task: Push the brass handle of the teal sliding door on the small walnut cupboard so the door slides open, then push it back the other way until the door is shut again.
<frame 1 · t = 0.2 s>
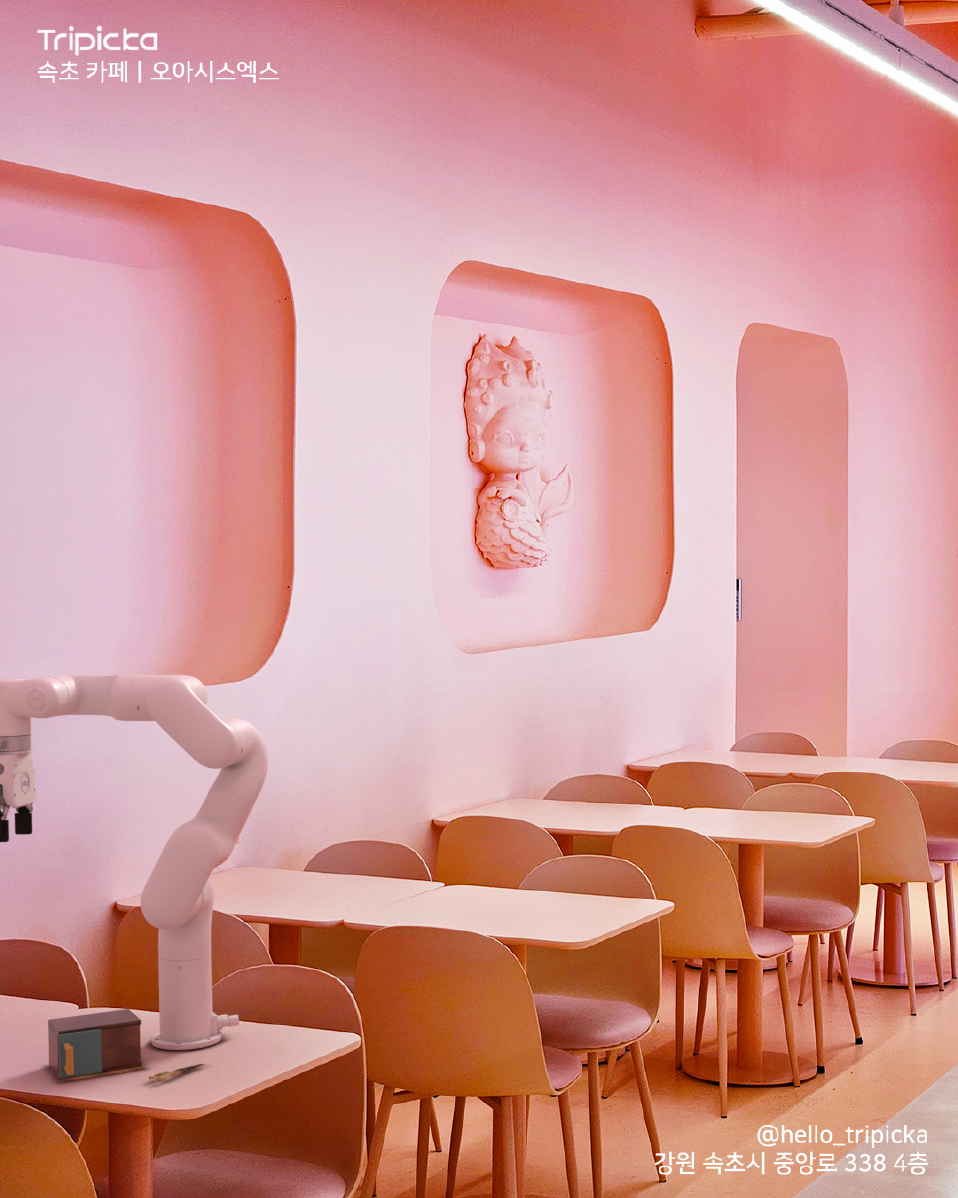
hand: (12, 838, 283), 37 cm above the table, tool pointing down, fingers open, 9 cm apart
tan slender tapered piece: (179, 1077, 257), on the table
door: (82, 1056, 256), point 4 cm above the table, slide at 0.0 cm
cupboard: (95, 1066, 264), on the table
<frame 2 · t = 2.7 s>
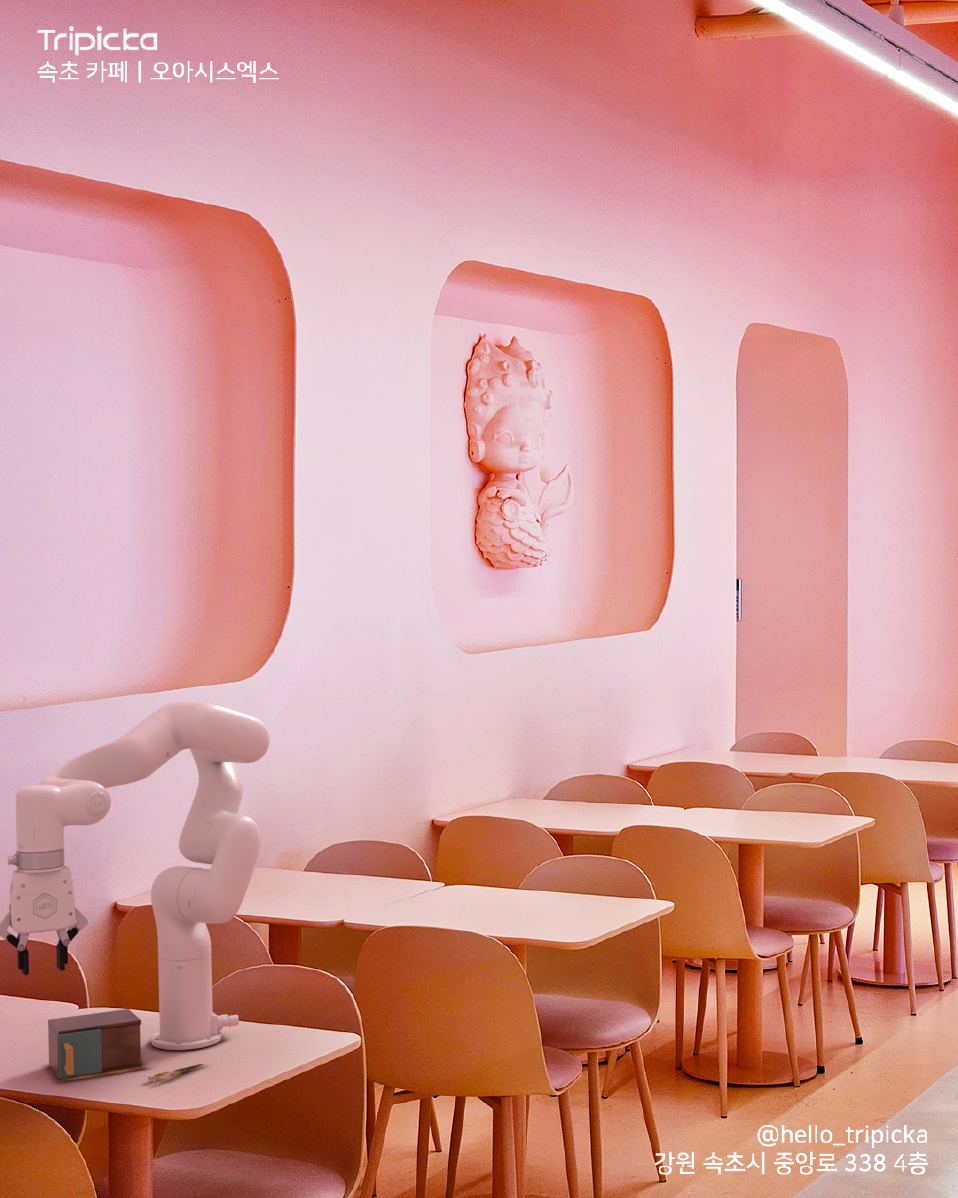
hand: (43, 970, 252), 19 cm above the table, tool pointing down, fingers open, 5 cm apart
nothing on the table moved.
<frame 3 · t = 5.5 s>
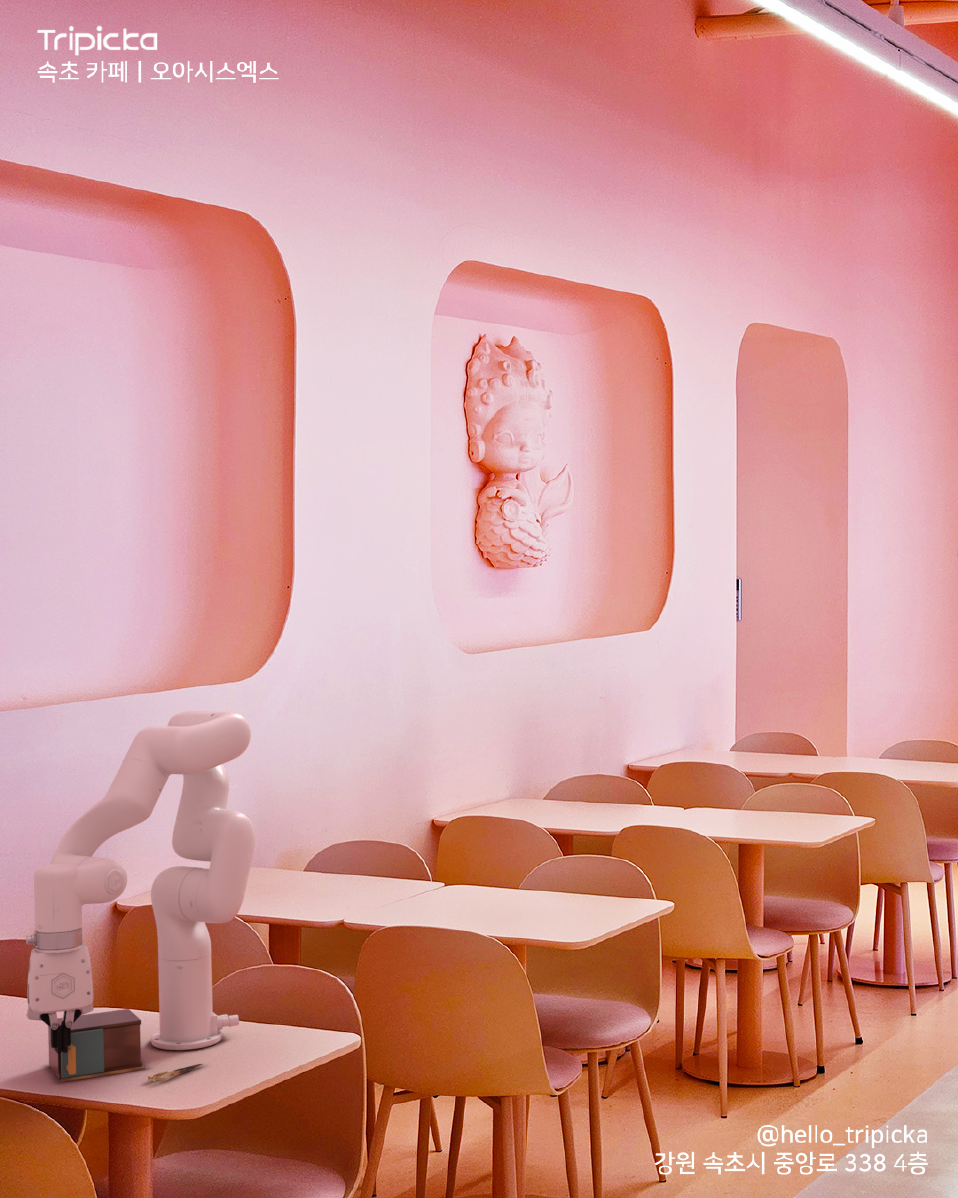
hand: (61, 1051, 253), 6 cm above the table, tool pointing down, fingers closed
door: (84, 1056, 256), point 4 cm above the table, slide at 0.4 cm, touching gripper
everything else where it was.
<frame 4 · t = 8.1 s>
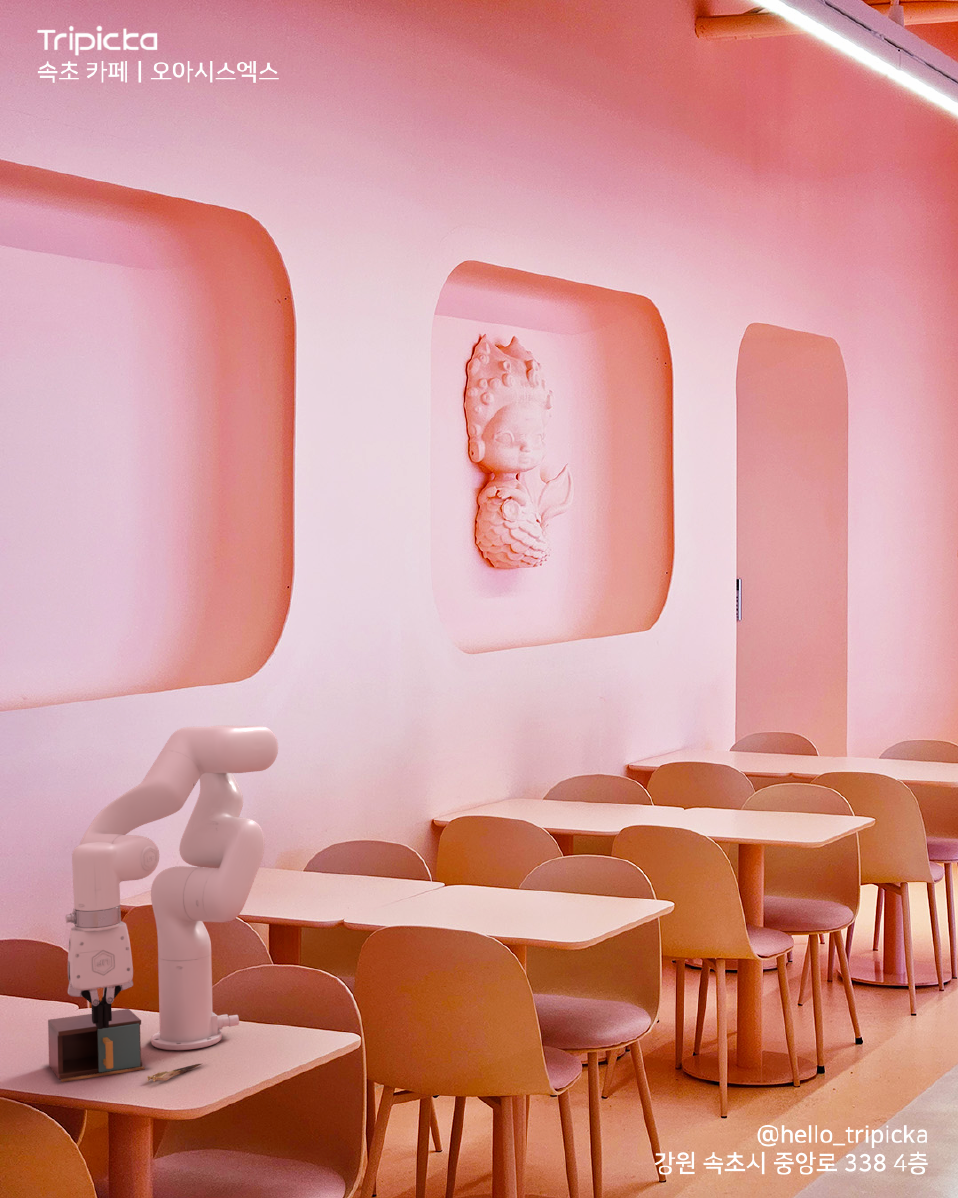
hand: (102, 1026, 256), 9 cm above the table, tool pointing down, fingers closed
door: (121, 1050, 259), point 4 cm above the table, slide at 6.5 cm
everything else where it was.
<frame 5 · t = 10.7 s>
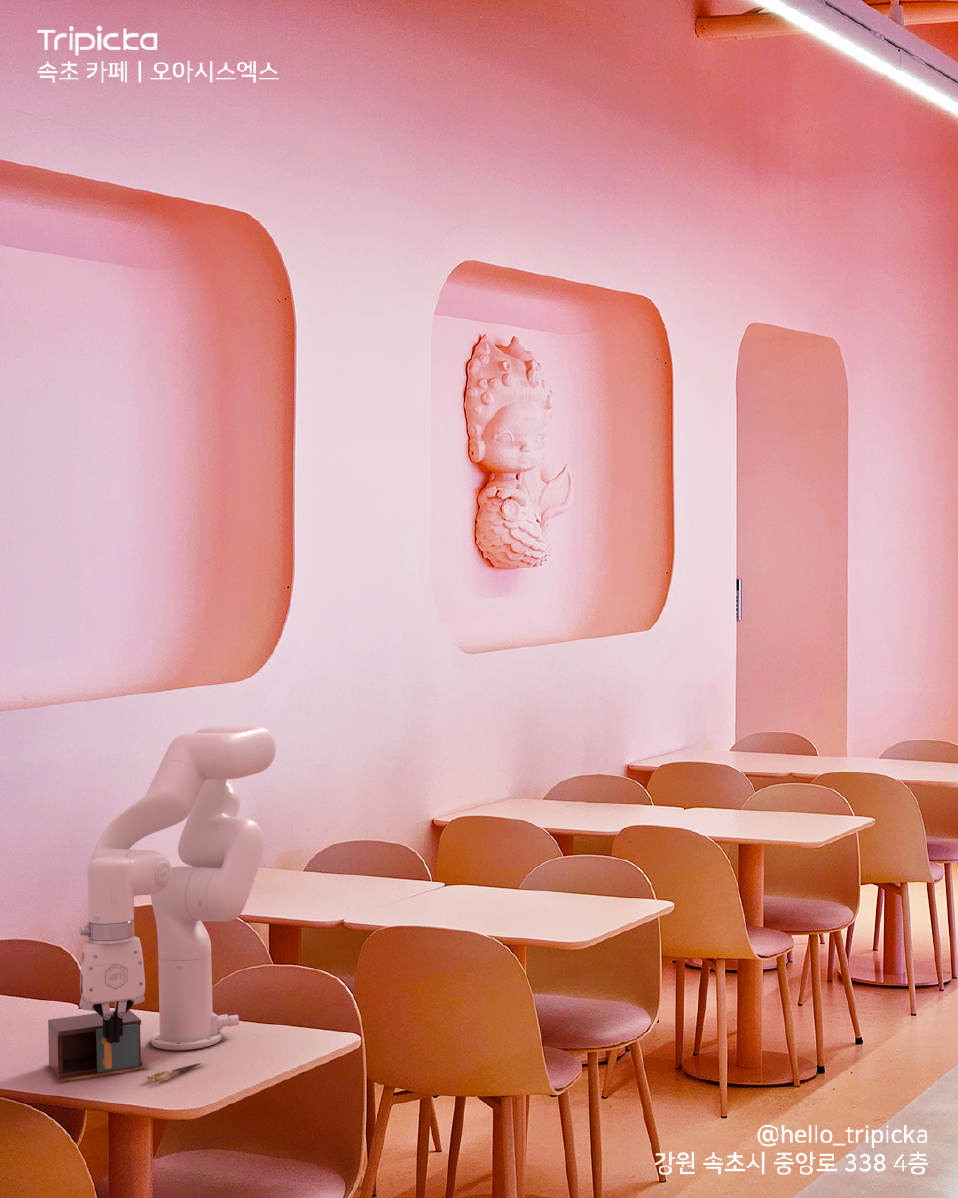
hand: (112, 1041, 256), 6 cm above the table, tool pointing down, fingers closed
door: (120, 1050, 259), point 4 cm above the table, slide at 6.3 cm, touching gripper
everything else where it was.
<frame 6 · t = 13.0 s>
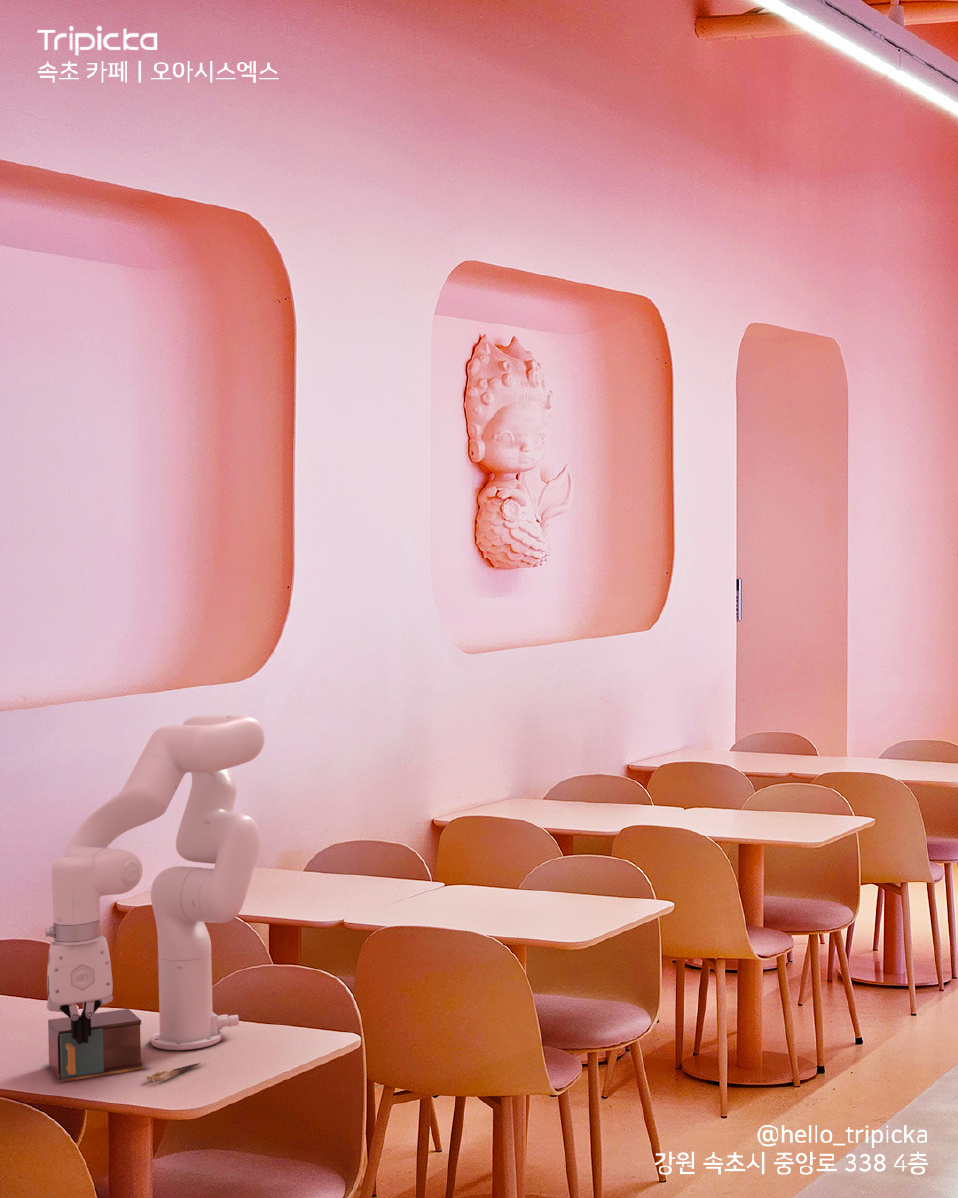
hand: (81, 1041, 255), 7 cm above the table, tool pointing down, fingers closed
door: (84, 1056, 256), point 4 cm above the table, slide at 0.3 cm
everything else where it was.
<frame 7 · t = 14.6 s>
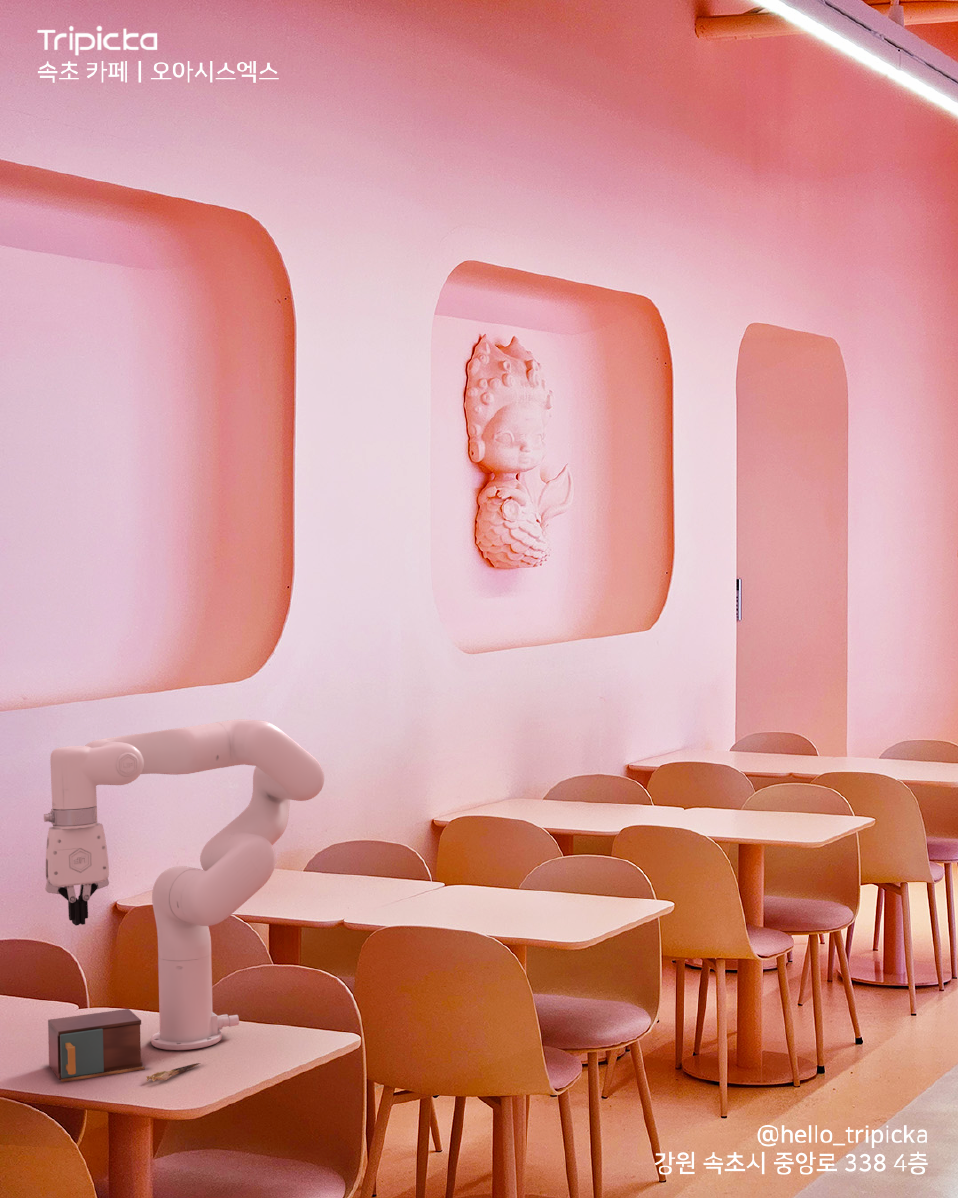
hand: (78, 923, 265), 24 cm above the table, tool pointing down, fingers closed
nothing on the table moved.
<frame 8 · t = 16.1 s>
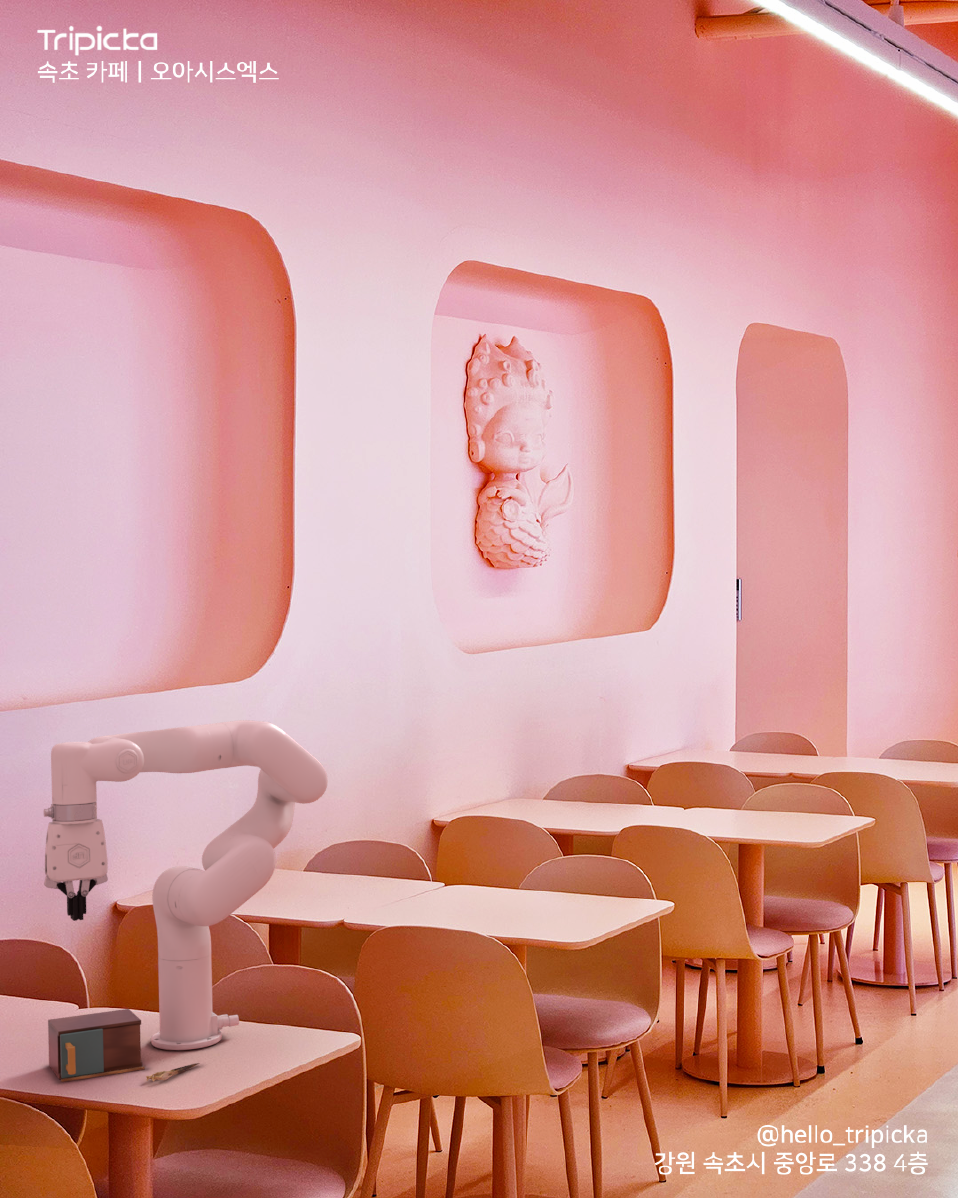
hand: (76, 919, 266), 25 cm above the table, tool pointing down, fingers closed
nothing on the table moved.
at the end: door pulled out 6.6 cm at the most during the clip, back to 0.3 cm at the end; door slide at 0.3 cm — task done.
